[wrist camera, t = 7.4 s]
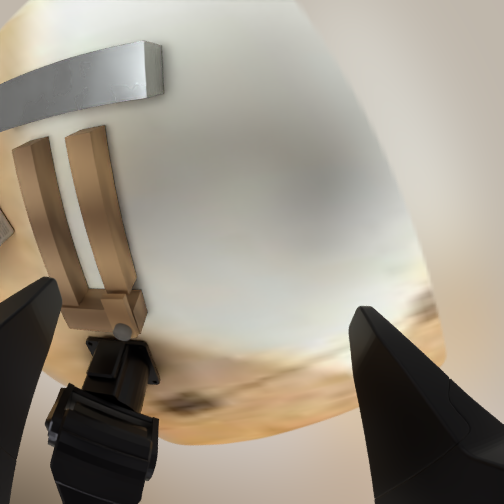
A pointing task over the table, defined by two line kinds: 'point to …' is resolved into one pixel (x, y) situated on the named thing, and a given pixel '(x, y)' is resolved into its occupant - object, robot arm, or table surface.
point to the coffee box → (4, 229)
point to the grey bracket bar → (83, 83)
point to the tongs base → (62, 242)
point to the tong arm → (103, 225)
